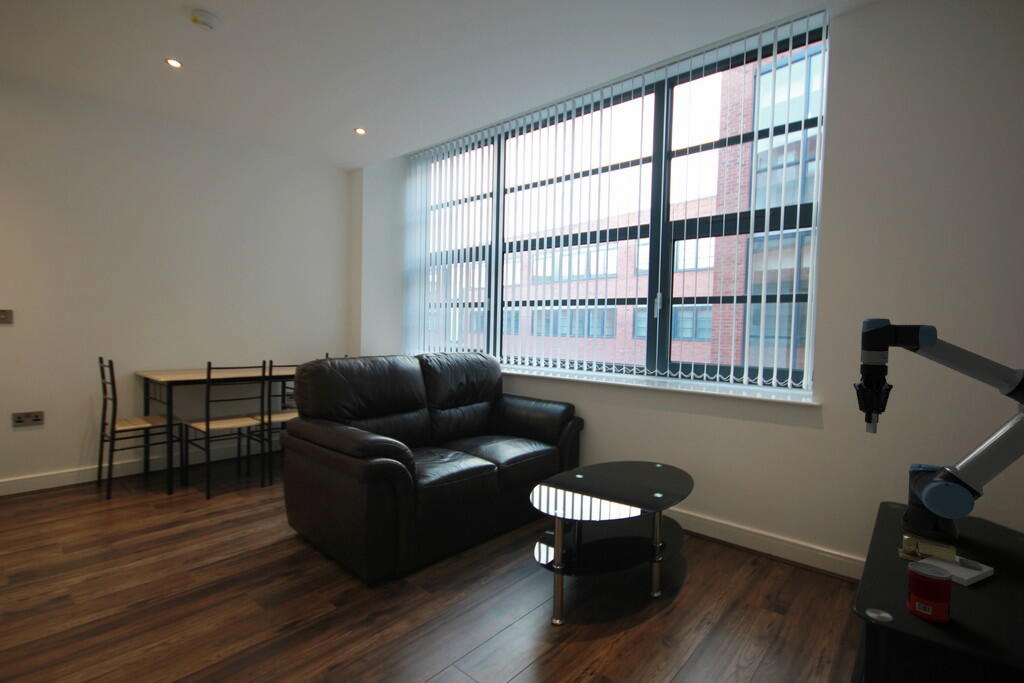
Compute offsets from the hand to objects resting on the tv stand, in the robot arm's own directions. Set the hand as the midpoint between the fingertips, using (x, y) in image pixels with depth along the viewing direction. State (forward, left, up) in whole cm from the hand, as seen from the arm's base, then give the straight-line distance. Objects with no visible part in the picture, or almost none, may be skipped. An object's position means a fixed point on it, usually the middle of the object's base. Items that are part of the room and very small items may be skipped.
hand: (871, 432), depth 162 cm
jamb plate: (+8, +16, -34) cm, 39 cm away
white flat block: (+6, +26, -34) cm, 44 cm away
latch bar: (+6, +20, -33) cm, 39 cm away
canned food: (+40, +34, -35) cm, 63 cm away
